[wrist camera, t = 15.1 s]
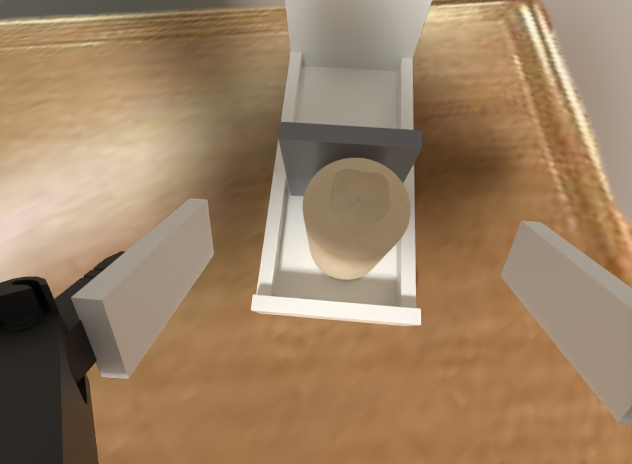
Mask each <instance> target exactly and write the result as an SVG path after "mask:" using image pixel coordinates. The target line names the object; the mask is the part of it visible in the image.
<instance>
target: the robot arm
mask: <svg viewBox="0 0 632 464" xmlns="http://www.w3.org/2000/svg"><path fill="white" fill-rule="evenodd" d="M213 256H214V250H213V242H212V234H211V225H210V217H209V209H208V200H207V199H192V198H190V199H188V200H187V201H186V202H185V203H184V204H182V205H181V206H180V207H179V208H178V209H176V210H175V211H174V212H173V213H172V214H170V215H169V216H168V217H167V218H166V219H164V220H163V221H162V222H161V223H160V224H158V225H157V226H156V227H155V228H154V229H152V230H151V231H150V232H149V233H148V234H146V235H145V236H144V237H143V238H142V239H140V240H139V241H138V242H137V243H136V244H134V245H133V246H132V247H131V248H130V249H128V250H127V251H126V252H124V251H121V252H119V253H117V254H114V255H112V256H110V257H108V258H106V259H104V260H103V261H102V262H101V263H99V264H98V265H97V266H96V267H94V269H93V270H91V271H89V272H88V273H87V274H85V275H84V278H80V279H79V280H78V281H77V282H75V283H74V284H73V285H72V286H70V287H69V288H68V289H66V290H65V291H64V292H63V293H61V294H60V295H59V296H58V297H56V298H55V299H54V298H53V296H52V293H51V291H50V288H49V286H48V284H47V282H46V280H45V279H43V278H40V277H21V278H15V279H11V280H8V281H5V282H1V283H0V464H99V463H98V455H97V446H96V437H95V428H94V420H93V411H92V402H91V393H90V385H89V380H88V378H87V376H86V373H87V372H88V370H89V369H90V368H91V367H92V366H93V364H94V363H95V362H96V363H97V366H98V368H99V371H100V373H101V376H102V377H113V378H124V379H129V378H130V376H131V375H132V373H133V372H134V370H135V369H136V368H137V366H138V365H139V363H140V362H141V360H142V359H143V357H144V356H145V354H146V353H147V352H148V350H149V349H150V347H151V346H152V344H153V343H154V341H155V340H156V338H157V337H158V336H159V334H160V333H161V331H162V330H163V328H164V327H165V325H166V324H167V323H168V321H169V320H170V318H171V317H172V315H173V314H174V312H175V311H176V309H177V308H178V307H179V305H180V304H181V302H182V301H183V299H184V298H185V296H186V295H187V293H188V292H189V291H190V289H191V288H192V286H193V285H194V283H195V282H196V280H197V279H198V277H199V276H200V275H201V273H202V272H203V270H204V269H205V267H206V266H207V264H208V263H209V261H210V260H211V259H212V257H213ZM501 278H502V279H503V280H504V281H505V282H506V284H507V285H508V286H509V287H510V289H511V290H512V291H513V292H514V294H515V295H516V296H517V297H518V299H519V300H520V301H521V302H522V304H523V305H524V306H525V307H526V309H527V310H528V311H529V312H530V314H531V315H532V316H533V317H534V319H535V320H536V321H537V322H538V324H539V325H540V326H541V327H542V329H543V330H544V331H545V332H546V333H547V335H548V336H549V337H550V338H551V340H552V341H553V342H554V343H555V345H556V346H557V347H558V348H559V350H560V351H561V352H562V353H563V355H564V356H565V357H566V358H567V360H568V361H569V362H570V363H571V365H572V366H573V367H574V368H575V370H576V371H577V372H578V373H579V375H580V376H581V377H582V378H583V379H584V381H585V382H586V383H587V384H588V386H589V387H590V388H591V389H592V391H593V392H594V393H595V394H596V396H597V397H598V398H599V399H600V401H601V402H602V403H603V404H604V406H605V407H606V408H607V409H608V411H609V412H610V413H611V414H612V416H613V417H614V418H615V419H616V421H617V422H618V423H627V424H632V288H630V287H629V286H628V285H626V284H625V283H623V282H622V281H621V280H619V279H618V278H617V277H615V276H614V275H612V274H611V273H610V272H608V271H607V270H606V269H604V268H603V267H601V266H600V265H599V264H597V263H596V262H595V261H593V260H592V259H590V258H589V257H588V256H586V255H585V254H584V253H582V252H581V251H580V250H578V249H577V248H575V247H574V246H573V245H571V244H570V243H569V242H567V241H566V240H564V239H563V238H562V237H560V236H559V235H558V234H556V233H555V232H553V231H552V230H551V229H549V228H548V227H547V226H545V225H544V224H543V223H541V222H532V221H521V224H520V226H519V229H518V231H517V234H516V237H515V239H514V242H513V245H512V247H511V250H510V252H509V255H508V258H507V260H506V263H505V265H504V268H503V271H502V273H501Z"/></svg>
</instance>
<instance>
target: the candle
mask: <svg viewBox="0 0 632 464" xmlns="http://www.w3.org/2000/svg"><path fill="white" fill-rule="evenodd" d="M410 213H411V207H410V200H409V195H408V193H407V190H406V188H405V186H404V184H403V183H402V181H401V180H400V179H399V177H398V176H397V175H396V174H395V173H394V172H393V171H391V170H390V169H389V168H387V167H386V166H384V165H382V164H380V163H378V162H376V161H373V160H369V159H365V158H346V159H341V160H337V161H335V162H332V163H330V164H328V165H327V166H325V167H324V168H322V169H321V170H320V171H319V172H317V173H316V174H315V176H314V177H313V178H312V179H311V181H310V182H309V184H308V186H307V188H306V190H305V194H304V198H303V216H304V222H305V227H306V233H307V238H308V243H309V249H310V252H311V256H312V258H313V260H314V262H315V264H316V265H317V266H318V268H319V269H320V270H321V271H323V272H324V273H325V274H327V275H329V276H330V277H333V278H336V279H340V280H352V279H357V278H360V277H362V276H364V275H365V274H367V273H368V272H370V271H371V270H372V269H373V268H374V267H375V266H376V265H377V264H378V263H379V262H380V261H381V259H382V258H383V257H384V256H385V255H386V254H387V253H388V252H389V251H390V250H391V249H392V248H393V247H394V246H395V245H396V243H397V242H398V241H399V240H400V239H401V237H402V236H403V235H404V233H405V231H406V229H407V227H408V224H409V220H410Z"/></svg>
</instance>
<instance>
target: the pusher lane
mask: <svg viewBox="0 0 632 464" xmlns="http://www.w3.org/2000/svg"><path fill="white" fill-rule="evenodd" d="M431 1H432V0H285V4H286V14H287V23H288V32H289V41H290V51H291V53H290V60H289V67H288V74H287V81H286V88H285V95H284V102H283V109H282V117H281V122H295V123H311V124H327V125H344V126H360V127H376V128H393V129H409V130H414V127H413V55H414V52H415V49H416V46H417V43H418V40H419V37H420V34H421V31H422V28H423V25H424V22H425V19H426V16H427V13H428V10H429V7H430V4H431ZM403 184H404V186H405V188H406V190H407V193H408V195H409V200H410V207H411V213H410V220H409V224H408V227H407V229H406V231H405V233H404V235H403V236H402V237H401V239H400V240H399V241H398V242H397V243H396V245H395V246H394V247H393V248H392V249H391V250H390V251H389V252H388V253H387V254H386V255H385V256H384V257H383V258H382V259H381V261H380V262H379V263H378V264H377V265H376V266H375V267H374V268H373V269H372V270H371V271H370V272H368V273H367V274H365V275H364V276H362V277H360V278H357V279H352V280H340V279H336V278H333V277H330V276H329V275H327V274H325V273H324V272H323V271H321V270H320V269H319V268H318V266H317V265H316V264H315V262H314V260H313V258H312V256H311V252H310V249H309V243H308V238H307V233H306V227H305V222H304V216H303V198H304V196H291V194H290V190H289V185H288V181H287V176H286V172H285V167H284V162H283V158H282V153H281V149H280V144H279V140H278V145H277V152H276V159H275V166H274V173H273V180H272V187H271V194H270V201H269V208H268V215H267V222H266V229H265V236H264V243H263V250H262V258H261V265H260V272H259V279H258V286H257V293H256V295H253V298H252V305H251V310H252V311H255V312H258V313H262V314H274V315H285V316H297V317H308V318H320V319H331V320H343V321H354V322H366V323H377V324H389V325H400V326H413V325H421V309H416V268H415V198H414V165H413V166H412V168H411V170H410V172H409V174H408V175H407V177H406V179H405V181H404V183H403Z"/></svg>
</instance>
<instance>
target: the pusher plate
mask: <svg viewBox="0 0 632 464" xmlns="http://www.w3.org/2000/svg"><path fill="white" fill-rule="evenodd" d="M278 140H279V144H280V149H281V153H282V158H283V162H284V167H285V172H286V176H287V181H288V185H289V190H290V194H291V196H304V194H305V190H306V188H307V186H308V184H309V182H310V181H311V179H312V178H313V177H314V176H315V174H316V173H317V172H319V171H320V170H321V169H322V168H324V167H325V166H327V165H328V164H330V163H332V162H335V161H337V160H341V159H346V158H365V159H369V160H373V161H376V162H378V163H380V164H382V165H384V166H386V167H387V168H389V169H390V170H391V171H393V172H394V173H395V174H396V175H397V176H398V177H399V179H400V180H401V181H402V183H404V181H405V179H406V177H407V175H408V174H409V172H410V170H411V168H412V166H413V165H414V163H415V161H416V159H417V157H418V155H419V154H420V152H421V150H422V130H409V129H393V128H376V127H360V126H344V125H327V124H311V123H295V122H281V124H280V131H279V138H278Z"/></svg>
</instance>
